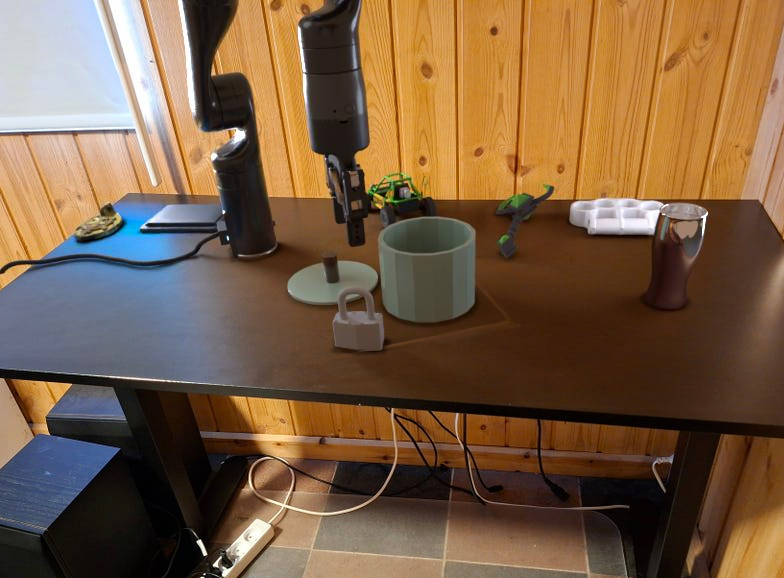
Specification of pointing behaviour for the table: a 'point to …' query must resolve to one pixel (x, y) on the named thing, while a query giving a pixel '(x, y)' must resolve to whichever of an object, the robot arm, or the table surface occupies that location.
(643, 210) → the white flat holed piece
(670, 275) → the beer glass
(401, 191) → the motor vehicle
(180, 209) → the dark grey flat block
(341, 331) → the padlock
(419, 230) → the pot
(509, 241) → the war hammer
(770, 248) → the table surface
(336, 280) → the pot lid
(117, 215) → the olive oval piece
